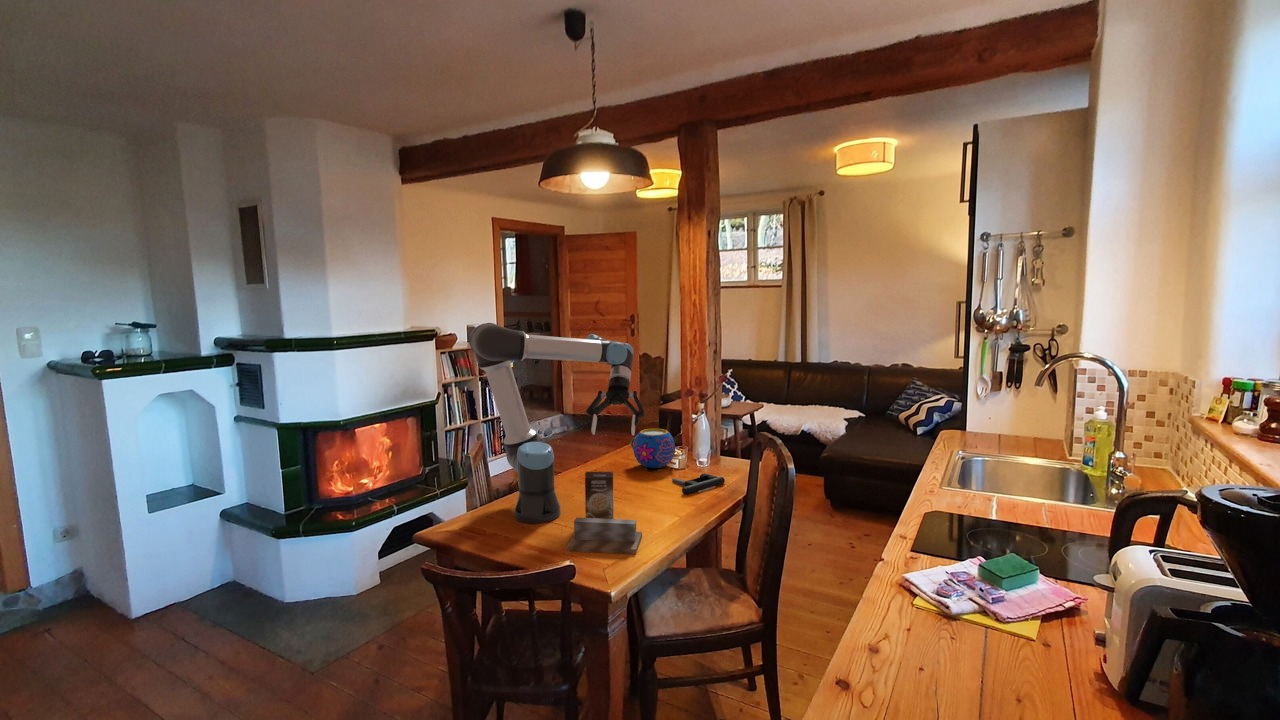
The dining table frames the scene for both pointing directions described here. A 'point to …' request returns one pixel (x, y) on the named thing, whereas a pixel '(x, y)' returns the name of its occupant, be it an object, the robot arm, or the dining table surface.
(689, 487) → the door handle
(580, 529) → the ridge stand
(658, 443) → the ceramic pot
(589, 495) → the coffee box
